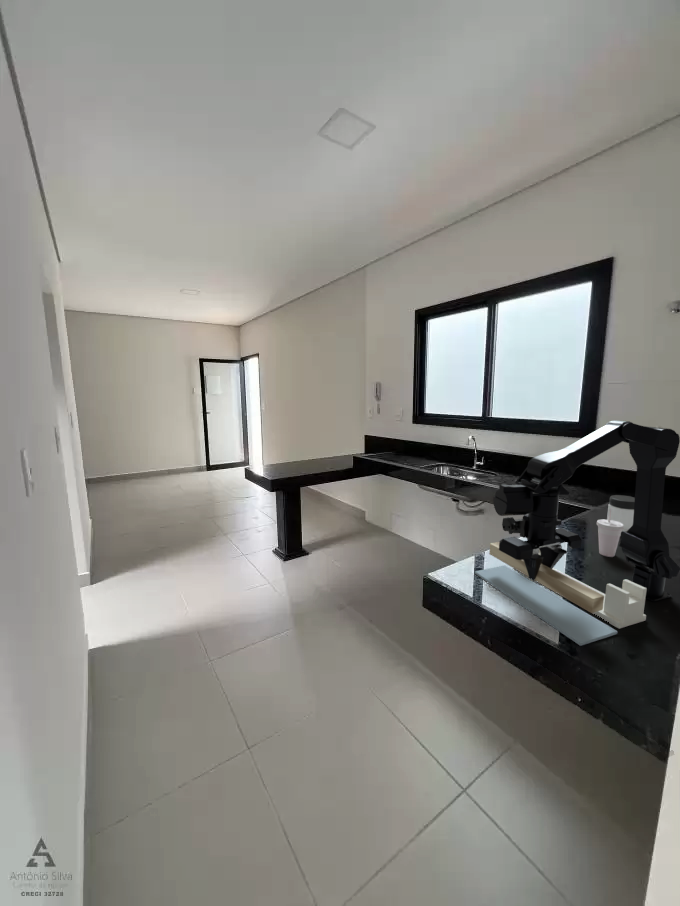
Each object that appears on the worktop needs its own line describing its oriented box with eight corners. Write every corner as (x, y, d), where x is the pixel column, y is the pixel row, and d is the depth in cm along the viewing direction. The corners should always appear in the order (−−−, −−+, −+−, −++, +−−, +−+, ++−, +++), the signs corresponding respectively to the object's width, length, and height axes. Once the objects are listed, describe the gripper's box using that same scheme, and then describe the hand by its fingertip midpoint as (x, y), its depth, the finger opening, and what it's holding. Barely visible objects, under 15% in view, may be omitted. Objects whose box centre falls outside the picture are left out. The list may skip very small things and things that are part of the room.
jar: (609, 525, 130) (613, 493, 128) (638, 532, 124) (642, 498, 122) (603, 532, 124) (606, 498, 122) (633, 539, 118) (637, 503, 116)
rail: (498, 552, 98) (499, 541, 97) (602, 609, 72) (604, 595, 71) (489, 554, 97) (489, 543, 96) (591, 613, 71) (593, 598, 70)
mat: (504, 567, 101) (504, 565, 101) (617, 633, 73) (617, 631, 73) (474, 573, 97) (474, 571, 97) (580, 645, 69) (580, 642, 69)
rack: (535, 562, 103) (537, 537, 102) (645, 620, 77) (650, 587, 76) (513, 567, 100) (515, 541, 99) (619, 628, 74) (623, 594, 73)
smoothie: (609, 549, 111) (614, 505, 109) (626, 558, 105) (631, 511, 102) (588, 549, 111) (593, 505, 109) (604, 559, 104) (609, 512, 102)
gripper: (544, 499, 92) (539, 557, 95) (483, 507, 86) (480, 569, 89) (586, 512, 82) (579, 577, 84) (520, 523, 76) (516, 592, 78)
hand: (537, 578), depth 84 cm, fingers closed on rail, 3 cm apart
